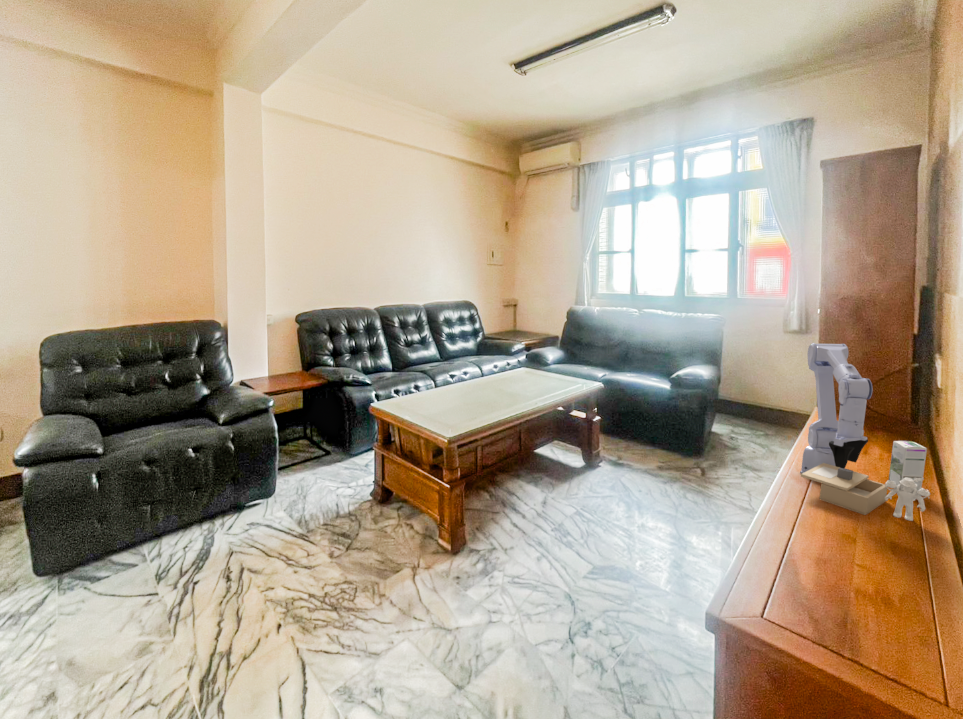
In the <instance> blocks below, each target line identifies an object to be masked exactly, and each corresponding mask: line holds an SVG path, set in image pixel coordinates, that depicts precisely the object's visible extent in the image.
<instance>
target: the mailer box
mask: <svg viewBox="0 0 963 719" xmlns="http://www.w3.org/2000/svg"><path fill="white" fill-rule="evenodd" d="M885 485H886V484H885V483H881V482H879V481H875V480H872V479H869V478H868V479H866V480H865V481H863V482H861V483H859V484H858V485H856V486H854V487H853V488H851V489H849V490H848V491H845V490H842V489H839V488H836V487H833V486H829V485H826V484H823V483H821V485H820V492H819V493H820V494H819V500H821V501H823V502H827V503H829V504H832V505H834V506H836V507H841V508H843V509H846V510H849V511H852V512H855V513H858V514H860V515H865V516H867V515H868V514H869V513H871V512H872V511H873V510H875V509H877V508H878V507H880V506H882V505H883V504H884V503H886V502H887V501H886V500H885V497H886V496H887V495H888V494H887V493H888V489H887V488H889V487H885Z"/></svg>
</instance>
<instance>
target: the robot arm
mask: <svg viewBox="0 0 963 719" xmlns="http://www.w3.org/2000/svg"><path fill="white" fill-rule="evenodd" d="M849 355H850V354H849V347H848V346H847V344H845V343H815V342H812V343H811V344H810V345H808V348H807V364H808V365H807V366H808V369H809V370H810V371H812V372H813V373H814V378H815V390H816V402H817V403H816V404H817V405H816V406H817V418H818V420H816V421H814V422H812V423H811V424H810V425H809V426H808V434H807V442H808V445H807V446H806V447H805V449H804V450H803V454H802V461H801V462H802V463H801V470H800V474H802V473H804V472H806V471H808V470H810V469H812V468H814V467H816V466H818V465H820V464H822V463H826V464H829V465H833V466H836V467H840V468H845V469H846V466H847V464H848V461H849V462H852V463H857V461H858V459H859V457H860V454H861V452H862V450H863V448H864V447H865V445H867V444H868V442H869V439H868V436H864V435H865V434H864V433H865V430H864V426H865V419H866V418H865V417H866V410H867V409H866V408H867V403H868V402H867V400H870V399H871V397H872V395H873V392H874V390H873V383H872V381H871V379H870V378H865V377H862V375H861V374H860V372H859V371H858V370H857V368H856V367H855V365H853V364H852V363H849V362H848V358H849ZM834 379H835V381H836V382H837V384H838V388H837V389H838V402H839V413H838V414H839V415H838V420H837V408H836V406H837V405H836V399H835V397H836V396H835V385H834Z"/></svg>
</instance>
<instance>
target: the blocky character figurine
mask: <svg viewBox="0 0 963 719" xmlns="http://www.w3.org/2000/svg"><path fill="white" fill-rule="evenodd" d="M914 479H915V480H913V479H911V478H904V479H903V480H901V481H899V482H900V483H899V485H896V483H894V482H895V481H890V480H889V479H888V480H886V482H885V483H884V484H885V487H888V488H887V491H889V492H888V494H887V495H886V497H885V500H886V501H885V502H888V500H889V499H890V500H892V499H893V498H892V497H893V496H895V495H897V496H898V498H897V500H896V504H895V509H894V512H893V513H892V516H893V517H894V518H896V519H897V518H902V517H903V514H902V512H903V507H904V506H905V515H904V519H905V520H906V521H909V522H910V521H911V522H913V521H914V514H913V512H914V501H916V500H917V501H918V504H917V505H916V508H920V510H919V511H920V512H922V513H923V512H925V511H926V506H925V500H924V499H926V498H928V500H929V499H930V495H931V492H930V490H929V489H925V488H924V487H922V488H920V489H919V490H918V491H917V489H916V487H917V484H915V483H914V481H915V482H918V481H922V480H923V481H924V479H925V478H924V476H923V477H922V478H914ZM921 479H922V480H921ZM917 480H918V481H917ZM888 481H890V482H888ZM923 481H922V482H923Z"/></svg>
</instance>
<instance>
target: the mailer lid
mask: <svg viewBox="0 0 963 719" xmlns="http://www.w3.org/2000/svg"><path fill="white" fill-rule="evenodd" d="M800 477H801V478H805V479H807V480H811V481H813V482H817V483H823V484H826V485H829V486H833V487H836V488H839V489H842V490H845V491H848V490H849V489H851V488H853V487H854V486H856V485H858V484H859V483H861V482H863V481H865V480H866V479H868V480H869V478H870V476H869V475H867V474H865V473H860V472H858V471H854V470H853V469H848V468H846V467H845V468H840V467H836V466H833V465H829V464H826V463H822V464H820V465H818V466H816V467H814V468H812V469H810V470H808V471H806V472H804V473H800Z"/></svg>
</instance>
